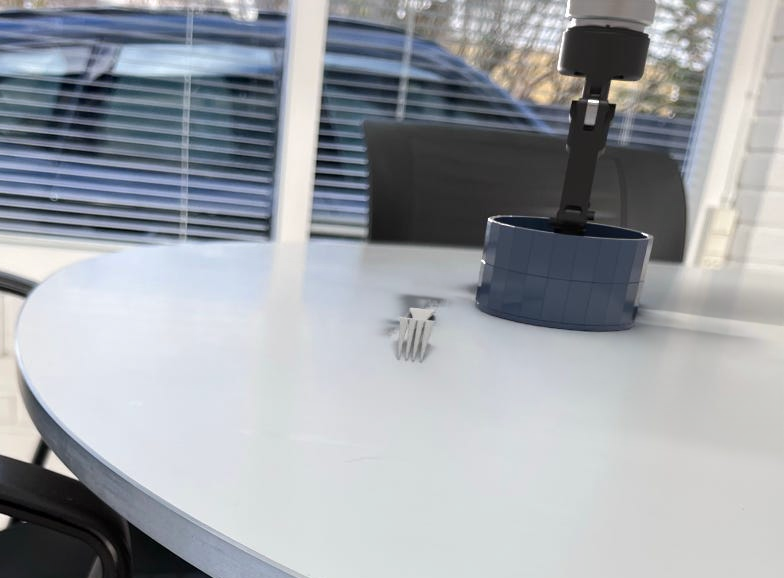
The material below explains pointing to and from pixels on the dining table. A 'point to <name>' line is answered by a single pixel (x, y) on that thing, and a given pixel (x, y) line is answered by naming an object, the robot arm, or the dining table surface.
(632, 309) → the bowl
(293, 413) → the dining table surface
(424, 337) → the fork
